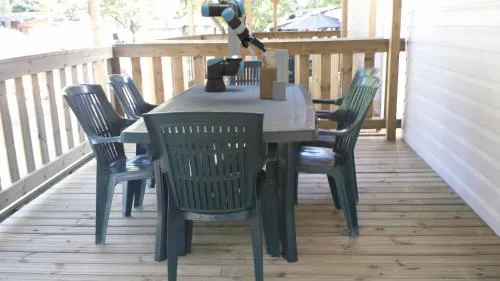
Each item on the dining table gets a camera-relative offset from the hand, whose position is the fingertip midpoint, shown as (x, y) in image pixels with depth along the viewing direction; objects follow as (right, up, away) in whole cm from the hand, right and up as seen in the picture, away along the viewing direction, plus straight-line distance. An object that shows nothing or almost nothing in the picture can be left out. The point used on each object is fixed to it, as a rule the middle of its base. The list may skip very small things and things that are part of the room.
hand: (260, 54), depth 288 cm
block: (+5, -26, +11) cm, 29 cm away
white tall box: (+12, -12, +66) cm, 68 cm away
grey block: (+12, -28, +3) cm, 31 cm away
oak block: (+5, -7, +6) cm, 10 cm away
